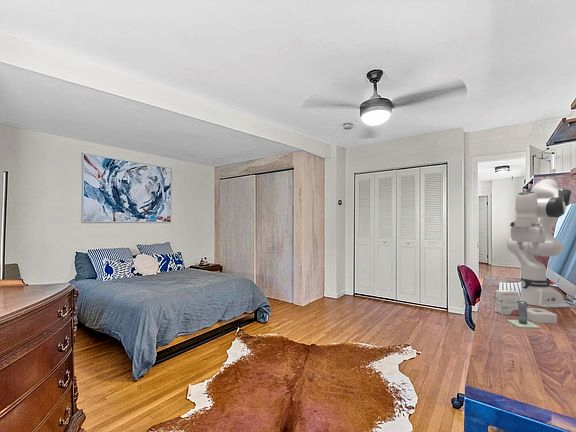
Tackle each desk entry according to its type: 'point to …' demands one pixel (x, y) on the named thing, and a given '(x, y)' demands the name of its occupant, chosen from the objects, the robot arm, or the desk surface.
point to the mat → (528, 325)
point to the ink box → (507, 302)
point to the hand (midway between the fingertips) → (527, 251)
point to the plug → (522, 312)
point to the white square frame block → (541, 315)
